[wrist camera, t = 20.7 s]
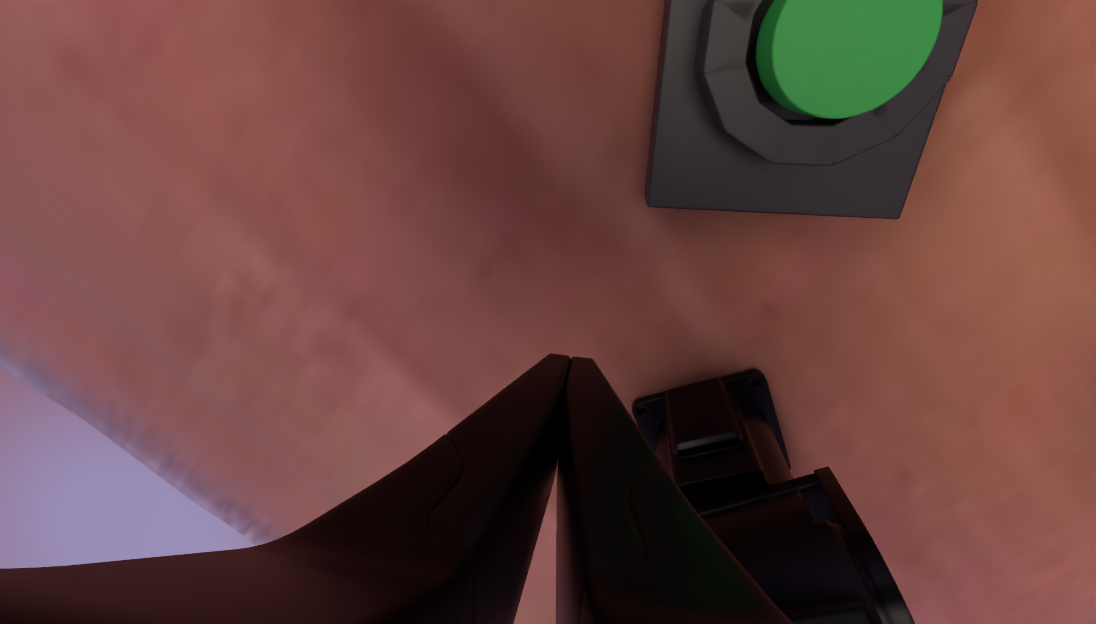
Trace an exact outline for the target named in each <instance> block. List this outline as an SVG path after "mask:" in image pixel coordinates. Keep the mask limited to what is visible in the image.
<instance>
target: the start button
mask: <svg viewBox="0 0 1096 624" xmlns="http://www.w3.org/2000/svg"><path fill="white" fill-rule="evenodd" d="M942 14H943V0H773V2H772V3H771V5H770V7H769V8H768V10H767V12H766V14H765V16H764V18H763V21H762V24H761V27H760V29H759V34H758V38H757V44H756V65H757V71H758V74H759V78H760V80H761V82H762V85H763V87H764V88H765V90H766V92H767V93H768V94H769V95H770V97H771V98H772V99H773V100H774V101H775V102H777V103H778V104H779V105H781V106H782V107H784V108H786V109H788V110H790V111H793V112H796V113H800V114H804V115H809V116H814V117H819V118H827V119H843V118H849V117H854V116H858V115H861V114H864V113H866V112H869V111H871V110H874V109H876V108H877V107H879V106H881V105H883V104H885V103H886V102H887V101H889V100H890V99H892V98H893V97H895V96H896V95H897V94H898V93H899V92H901V91H902V90H903V89H904V88H905V87H906V86H907V85H908V84H909V83H910V82H911V81H912V80H913V79H914V77H915V76H916V75H917V74H918V72H919V71H920V70H921V68H922V67H923V65H924V64H925V62H926V61H927V59H928V57H929V55H930V53H931V51H932V49H933V47H934V45H935V42H936V40H937V37H938V34H939V30H940V26H941V21H942Z"/></svg>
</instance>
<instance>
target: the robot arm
mask: <svg viewBox="0 0 1096 624" xmlns="http://www.w3.org/2000/svg"><path fill="white" fill-rule="evenodd" d="M754 378H758V381H756V382H750V381H751V380H752V379H754ZM639 407H645V408H646V409H644V410H639V409H638V408H639ZM632 412H633V415H634V418H635V420H636V422H637V425H638V426H637V425H636V423H635V422H634V420H633V419H632V417H631V416H630V414H629V412H628V411H627V409H626V408H625V406H624V405H623V403H622V402H621V400H620V399H619V397H618V396H617V394H616V393H615V391H614V390H613V388H612V387H611V385H610V384H609V382H608V381H607V379H606V378H605V376H604V375H603V373H602V372H601V370H600V369H599V367H598V366H597V364H596V363H595V361H594V360H593V359H591V358H583V357H572V359H570V357H569V356H567V355H559V354H549V355H547V356H546V357H545V358H543V359H542V360H541V361H539V362H538V363H537V364H535V365H534V366H533V367H532V368H530V369H529V370H528V371H526V372H525V373H524V374H523V375H521V376H520V377H519V378H517V379H516V380H515V381H513V382H512V383H511V384H510V385H508V386H507V387H506V388H504V389H503V390H502V391H500V392H499V393H498V394H497V395H495V396H494V397H493V398H491V399H490V400H489V401H487V402H486V403H485V404H484V405H482V406H481V407H480V408H478V409H477V410H476V411H475V412H473V413H472V414H471V415H469V416H468V417H467V418H465V419H464V420H463V421H462V422H460V423H459V424H458V425H456V426H455V427H454V428H452V429H451V430H450V431H449V432H448V433H447V435H446V434H445V435H443V436H442V437H440V438H439V439H438V440H437V441H435V442H434V443H433V444H431V445H430V446H429V447H427V448H426V449H425V450H423V451H422V452H420V453H419V454H418V455H416V456H415V457H413V458H412V459H411V460H409V461H408V462H406V463H405V464H403V465H402V466H400V467H399V468H397V469H396V470H394V471H393V472H391V473H389V474H388V475H386V476H385V477H383V478H382V479H380V480H379V481H377V482H375V483H374V484H372V485H370V486H369V487H367V488H365V489H364V490H362V491H361V492H359V493H357V494H356V495H354V496H352V497H351V498H349V499H347V500H346V501H344V502H343V503H341V504H339V505H338V506H336V507H334V508H333V509H331V510H329V511H328V512H326V513H325V514H323V515H321V516H320V517H318V518H316V519H315V520H313V521H311V522H310V523H308V524H307V525H305V526H303V527H301V528H299V529H298V530H296V531H294V532H292V533H290V534H288V535H286V536H284V537H281V538H279V539H277V540H274V541H271V542H268V543H266V544H262V545H258V546H254V547H249V548H243V549H235V550H225V551H214V552H204V553H193V554H184V555H173V556H163V557H152V558H141V559H131V560H121V561H111V562H100V563H91V564H80V565H69V566H54V567H39V568H16V569H15V568H13V569H0V624H513V623H514V619H515V616H516V612H517V609H518V605H519V602H520V598H521V595H522V591H523V588H524V584H525V581H526V577H527V574H528V570H529V566H530V563H531V559H532V556H533V552H534V549H535V545H536V542H537V538H538V535H539V531H540V528H541V524H542V521H543V517H544V514H545V510H546V507H547V503H548V500H549V496H550V493H551V489H552V485H553V482H554V478H555V474H556V469H557V464H558V469H557V534H556V624H915V622H914V620H913V618H912V616H911V614H910V612H909V610H908V607H907V605H906V603H905V601H904V599H903V597H902V595H901V593H900V591H899V589H898V587H897V585H896V583H895V581H894V579H893V577H892V575H891V573H890V571H889V569H888V567H887V565H886V563H885V561H884V560H883V558H882V556H881V554H880V552H879V550H878V548H877V546H876V545H875V543H874V541H873V539H872V537H871V535H870V534H869V532H868V530H867V529H866V527H865V525H864V524H863V522H862V520H861V519H860V517H859V515H858V514H857V512H856V511H855V509H854V507H853V506H852V504H851V502H850V501H849V499H848V497H847V496H846V494H845V492H844V491H843V489H842V488H841V486H840V484H839V483H838V481H837V479H836V478H835V476H834V474H833V473H832V471H831V470H830V468H829V466H828V467H824V468H820V469H817V470H814V472H815V473H813V474H810V475H806V476H802V477H798V478H795V479H793V477H792V475H791V472H790V470H791V466H790V462H789V459H788V455H787V452H786V448H785V444H784V441H783V437H782V434H781V430H780V426H779V423H778V419H777V416H776V412H775V409H774V405H773V401H772V398H771V394H770V391H769V387H768V384H767V380H766V378H765V376H764V374H763V372H761V371H760V370H756V369H752V370H748V371H744V372H740V373H736V374H732V375H728V376H724V377H720V378H713V379H709V380H705V381H701V382H697V383H693V384H689V385H685V386H681V387H677V388H674V389H670V390H668V391H665V392H662V393H658V394H654V395H650V396H646V397H642V398H638V399H636V400H635V401H634V402H633V404H632ZM638 427H639V428H638ZM558 458H559V459H558Z"/></svg>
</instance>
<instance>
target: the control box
mask: <svg viewBox="0 0 1096 624" xmlns="http://www.w3.org/2000/svg"><path fill="white" fill-rule="evenodd" d="M977 1H978V0H943V14H942V21H941V26H940V30H939V34H938V37H937V40H936V42H935V45H934V47H933V49H932V51H931V53H930V55H929V57H928V59H927V61H926V62H925V64H924V65H923V67H922V68H921V70H920V71H919V72H918V74H917V75H916V76H915V77H914V79H913V80H912V81H911V82H910V83H909V84H908V85H907V86H906V87H905V88H904V89H903V90H902V91H901V92H899V93H898V94H897V95H896V96H895V97H893V98H892V99H890V100H889V101H887V102H886V103H885V104H883V105H881V106H879V107H877V108H876V109H874V110H871V111H869V112H866V113H864V114H861V115H858V116H854V117H849V118H843V119H827V118H819V117H814V116H809V115H804V114H800V113H796V112H793V111H790V110H788V109H786V108H784V107H782V106H781V105H779V104H778V103H777V102H775V101H774V100H773V99H772V98H771V97H770V95H769V94H768V93H767V92H766V90H765V88H764V87H763V85H762V82H761V80H760V78H759V74H758V71H757V65H756V44H757V38H758V34H759V29H760V27H761V24H762V21H763V18H764V16H765V14H766V12H767V10H768V8H769V7H770V5H771V3H772V2H773V0H665V7H664V17H663V26H662V36H661V45H660V54H659V64H658V73H657V83H656V92H655V101H654V111H653V120H652V130H651V139H650V148H649V158H648V167H647V177H646V186H645V198H646V203H647V206H648V207H656V208H677V209H697V210H718V211H738V212H759V213H779V214H800V215H820V216H841V217H861V218H882V219H899V218H900V215H901V212H902V209H903V206H904V204H905V201H906V198H907V195H908V192H909V189H910V186H911V183H912V181H913V178H914V175H915V172H916V169H917V166H918V163H919V160H920V158H921V155H922V152H923V149H924V146H925V143H926V140H927V137H928V135H929V132H930V129H931V126H932V123H933V120H934V117H935V114H936V112H937V109H938V106H939V103H940V100H941V97H942V94H943V91H944V89H945V86H946V84H947V82H948V81H949V80H950V77H952V75H953V72H954V69H955V67H956V64H957V61H958V58H959V55H960V52H961V50H962V47H963V44H964V41H965V38H966V35H967V32H968V30H969V27H970V24H971V21H972V18H973V15H974V12H975V10H976V7H977Z"/></svg>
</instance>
